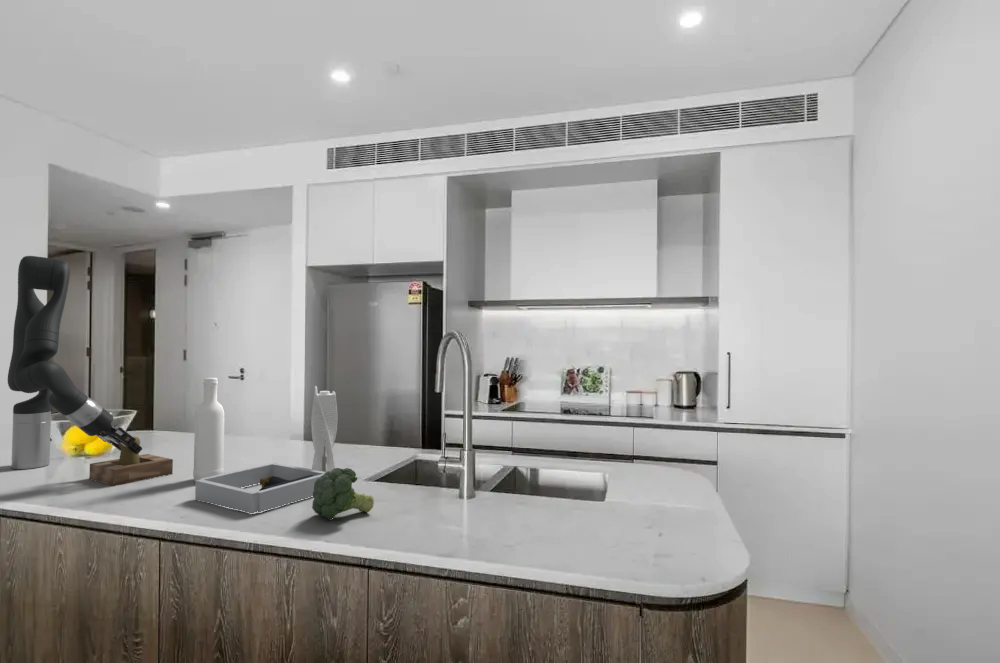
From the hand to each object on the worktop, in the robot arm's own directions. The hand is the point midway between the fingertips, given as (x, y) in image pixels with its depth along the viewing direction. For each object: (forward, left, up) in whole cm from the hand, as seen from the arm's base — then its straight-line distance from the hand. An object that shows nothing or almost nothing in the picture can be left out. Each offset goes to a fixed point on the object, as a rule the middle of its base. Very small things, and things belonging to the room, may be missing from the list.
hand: (131, 449), depth 161 cm
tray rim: (+50, +8, -8) cm, 51 cm away
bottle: (+22, +10, -8) cm, 26 cm away
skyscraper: (+51, +27, -8) cm, 58 cm away
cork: (+1, -1, -7) cm, 7 cm away
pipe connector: (+55, +9, -9) cm, 56 cm away
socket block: (0, 0, -8) cm, 8 cm away
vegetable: (+80, +7, -8) cm, 80 cm away
